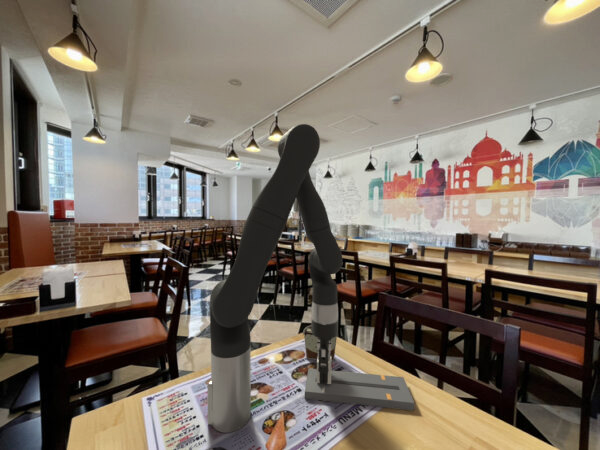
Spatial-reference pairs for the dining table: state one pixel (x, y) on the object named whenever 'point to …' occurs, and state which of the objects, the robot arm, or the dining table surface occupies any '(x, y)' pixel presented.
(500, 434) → the dining table surface
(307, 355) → the food container
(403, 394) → the fader board
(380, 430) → the dining table surface
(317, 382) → the slider handle
